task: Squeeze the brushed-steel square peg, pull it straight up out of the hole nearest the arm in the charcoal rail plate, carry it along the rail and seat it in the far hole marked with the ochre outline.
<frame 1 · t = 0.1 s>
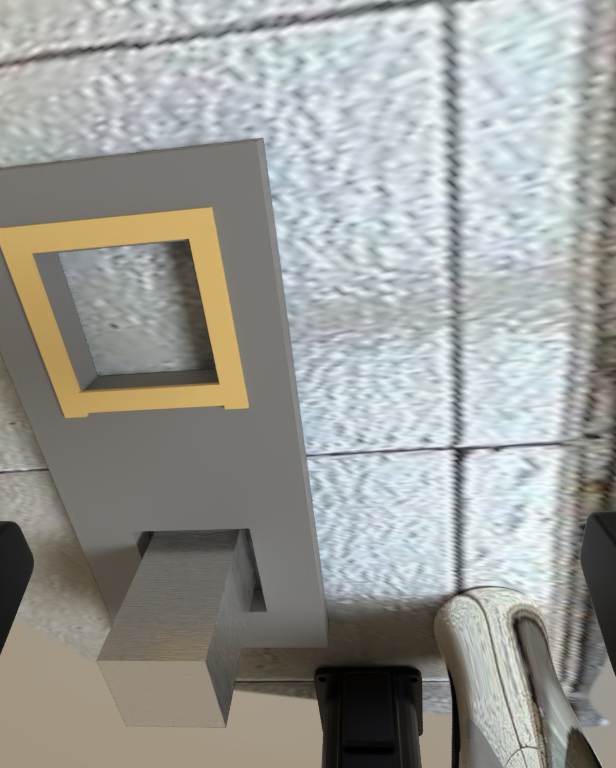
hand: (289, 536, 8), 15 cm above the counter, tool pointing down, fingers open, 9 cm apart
rail: (180, 445, 26), on the counter
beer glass: (487, 620, 31), on the counter
peg: (209, 550, 29), resting in rail
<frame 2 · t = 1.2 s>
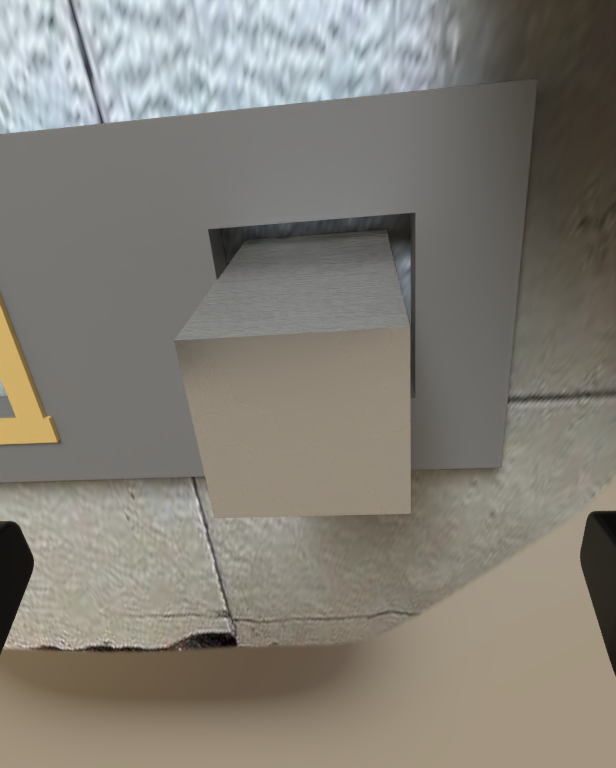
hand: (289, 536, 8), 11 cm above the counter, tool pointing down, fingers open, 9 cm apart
rail: (122, 315, 19), on the counter
peg: (320, 301, 18), resting in rail
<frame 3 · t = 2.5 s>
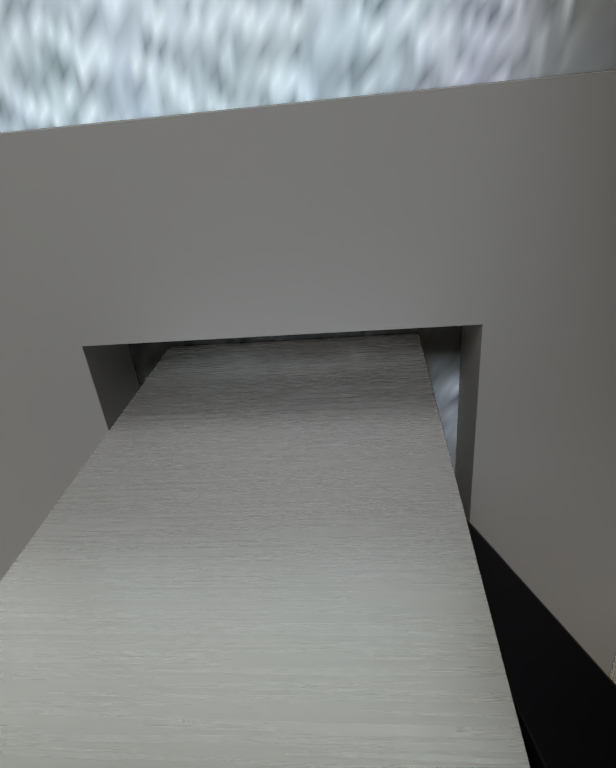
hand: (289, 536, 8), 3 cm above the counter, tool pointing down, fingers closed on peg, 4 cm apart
peg: (302, 444, 11), resting in rail, touching gripper
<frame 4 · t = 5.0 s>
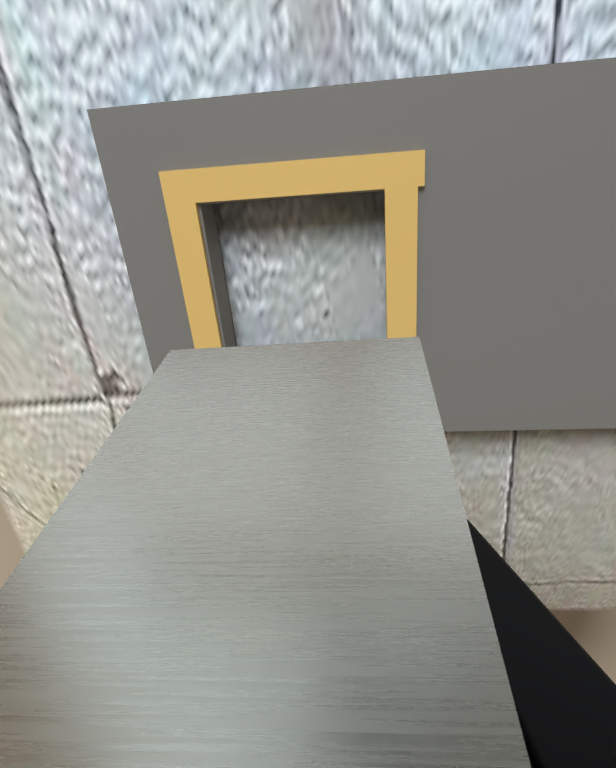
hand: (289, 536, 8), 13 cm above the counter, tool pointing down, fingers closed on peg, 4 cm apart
rail: (502, 264, 19), on the counter
peg: (303, 446, 11), point 10 cm above the counter, touching gripper
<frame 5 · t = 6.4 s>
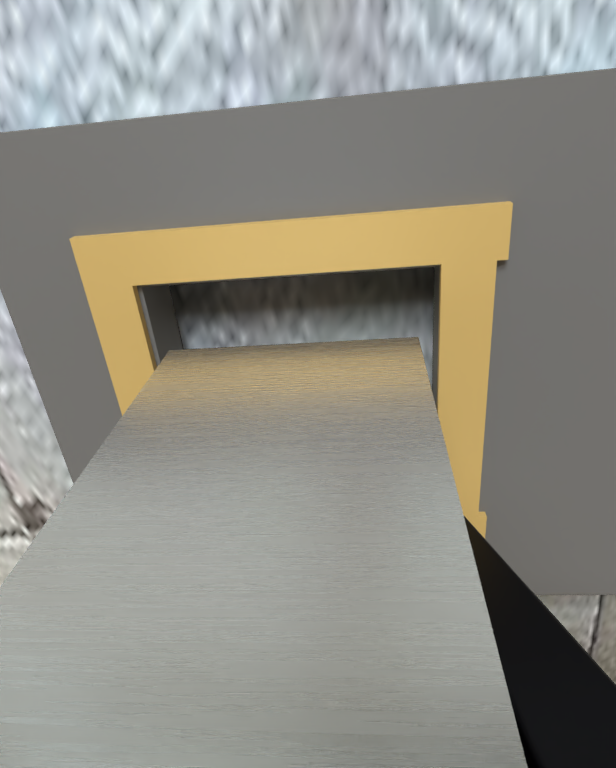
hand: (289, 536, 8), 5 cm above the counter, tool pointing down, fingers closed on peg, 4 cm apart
rail: (608, 362, 13), on the counter
peg: (302, 447, 11), point 3 cm above the counter, touching gripper
when the fingers open (3 cm above the counter, at t = 7.6 s): peg drops 1 cm, resting in rail.
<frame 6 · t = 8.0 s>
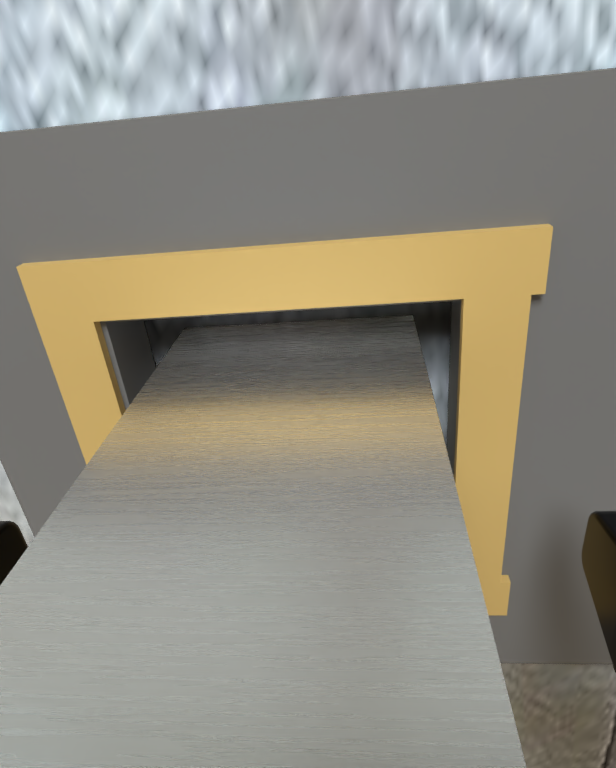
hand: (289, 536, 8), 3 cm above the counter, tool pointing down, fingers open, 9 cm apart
peg: (306, 418, 12), resting in rail
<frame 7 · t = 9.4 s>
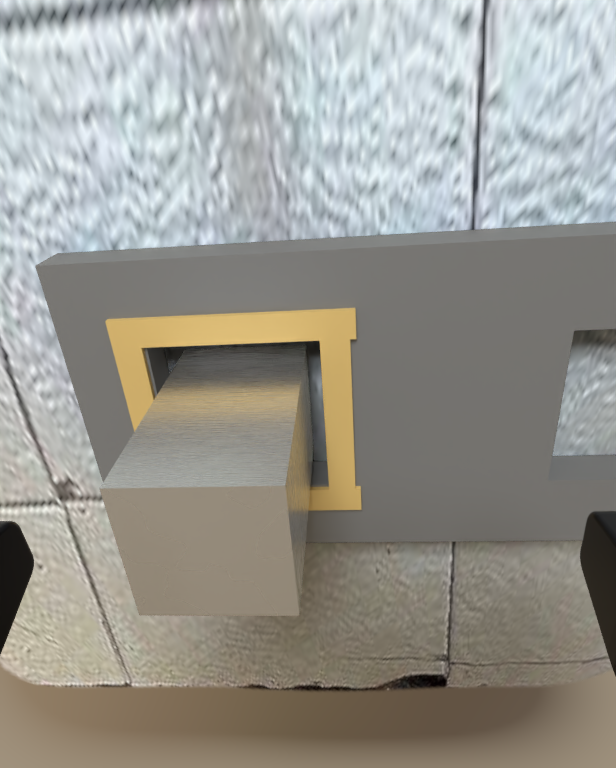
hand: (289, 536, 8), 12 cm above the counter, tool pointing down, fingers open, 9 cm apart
rail: (435, 393, 20), on the counter
peg: (252, 400, 21), resting in rail
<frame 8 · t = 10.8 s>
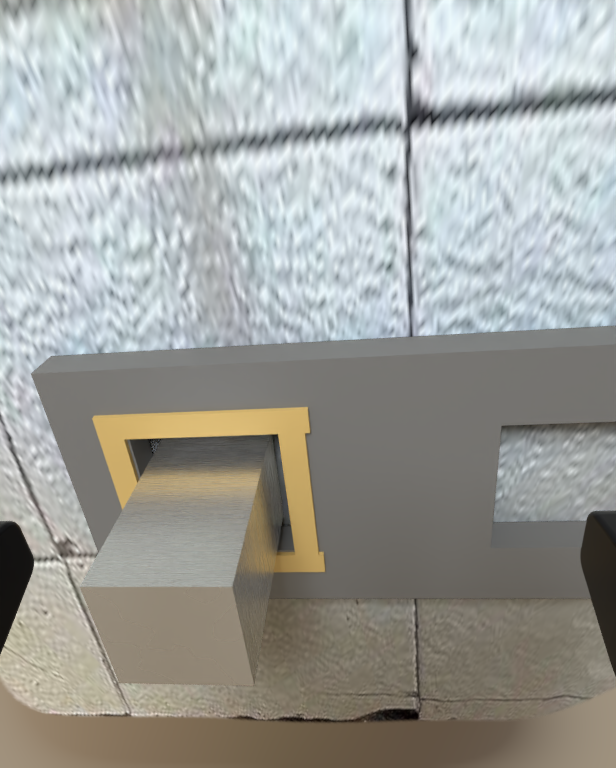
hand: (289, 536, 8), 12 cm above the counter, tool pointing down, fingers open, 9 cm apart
rail: (388, 469, 23), on the counter
peg: (226, 474, 23), resting in rail
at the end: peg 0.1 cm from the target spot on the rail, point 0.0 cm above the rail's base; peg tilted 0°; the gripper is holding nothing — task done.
